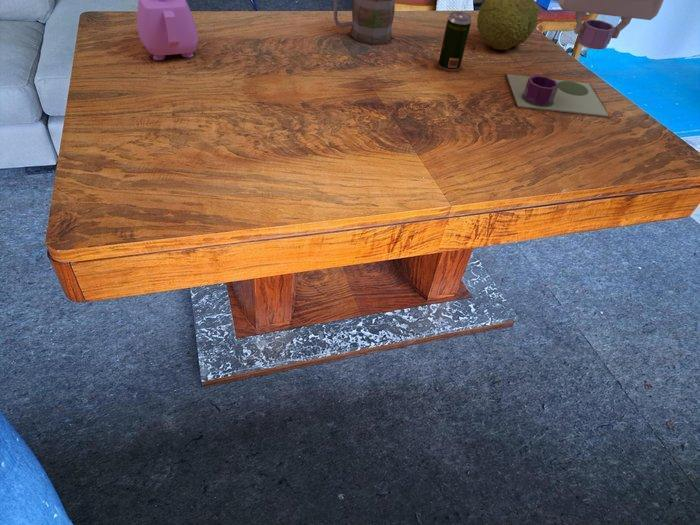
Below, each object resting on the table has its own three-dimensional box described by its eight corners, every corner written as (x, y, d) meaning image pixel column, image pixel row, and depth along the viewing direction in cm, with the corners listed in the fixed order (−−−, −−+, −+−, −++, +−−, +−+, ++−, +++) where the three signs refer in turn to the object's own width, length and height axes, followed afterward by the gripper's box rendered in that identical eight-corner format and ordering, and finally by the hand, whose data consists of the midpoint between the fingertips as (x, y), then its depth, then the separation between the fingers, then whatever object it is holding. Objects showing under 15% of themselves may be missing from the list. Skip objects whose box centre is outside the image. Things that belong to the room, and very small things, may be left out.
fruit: (528, 63, 129) (517, 7, 119) (476, 66, 138) (462, 14, 127) (549, 25, 135) (541, -31, 125) (498, 31, 144) (486, -22, 134)
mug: (389, 30, 137) (396, -19, 129) (392, 46, 130) (399, -5, 121) (331, 25, 136) (334, -25, 128) (331, 41, 129) (334, -11, 120)
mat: (588, 84, 123) (589, 82, 123) (608, 117, 111) (609, 115, 111) (506, 75, 123) (507, 73, 122) (517, 107, 111) (518, 104, 111)
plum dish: (548, 94, 116) (554, 77, 113) (554, 107, 112) (561, 89, 109) (521, 91, 116) (527, 74, 113) (526, 104, 111) (532, 86, 109)
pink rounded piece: (208, 65, 112) (201, 4, 104) (149, 71, 108) (136, 8, 99) (189, 31, 125) (181, -26, 116) (135, 35, 121) (123, -24, 112)
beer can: (463, 71, 122) (476, 19, 114) (443, 72, 121) (454, 19, 112) (454, 62, 126) (466, 10, 117) (434, 63, 124) (444, 11, 116)
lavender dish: (601, 39, 114) (609, 21, 111) (609, 50, 110) (618, 31, 107) (574, 36, 114) (581, 18, 111) (581, 47, 109) (589, 28, 107)
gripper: (577, -38, 98) (551, 35, 108) (681, -26, 99) (645, 46, 108) (569, -47, 103) (545, 24, 113) (668, -35, 103) (635, 35, 113)
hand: (595, 35), depth 111 cm, fingers closed on lavender dish, 6 cm apart
